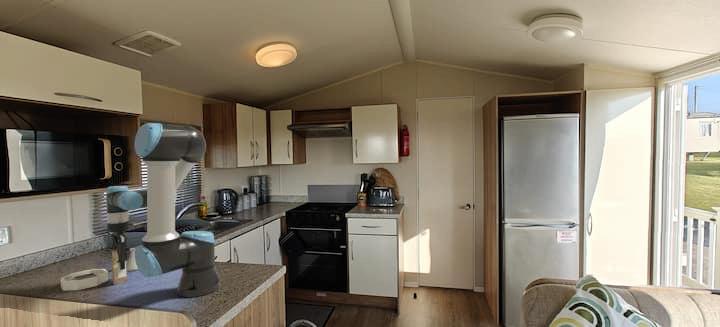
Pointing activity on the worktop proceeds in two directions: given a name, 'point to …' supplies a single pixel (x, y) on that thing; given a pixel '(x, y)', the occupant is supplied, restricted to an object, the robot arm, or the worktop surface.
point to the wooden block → (116, 269)
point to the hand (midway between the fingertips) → (119, 274)
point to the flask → (132, 261)
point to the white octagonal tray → (84, 279)
